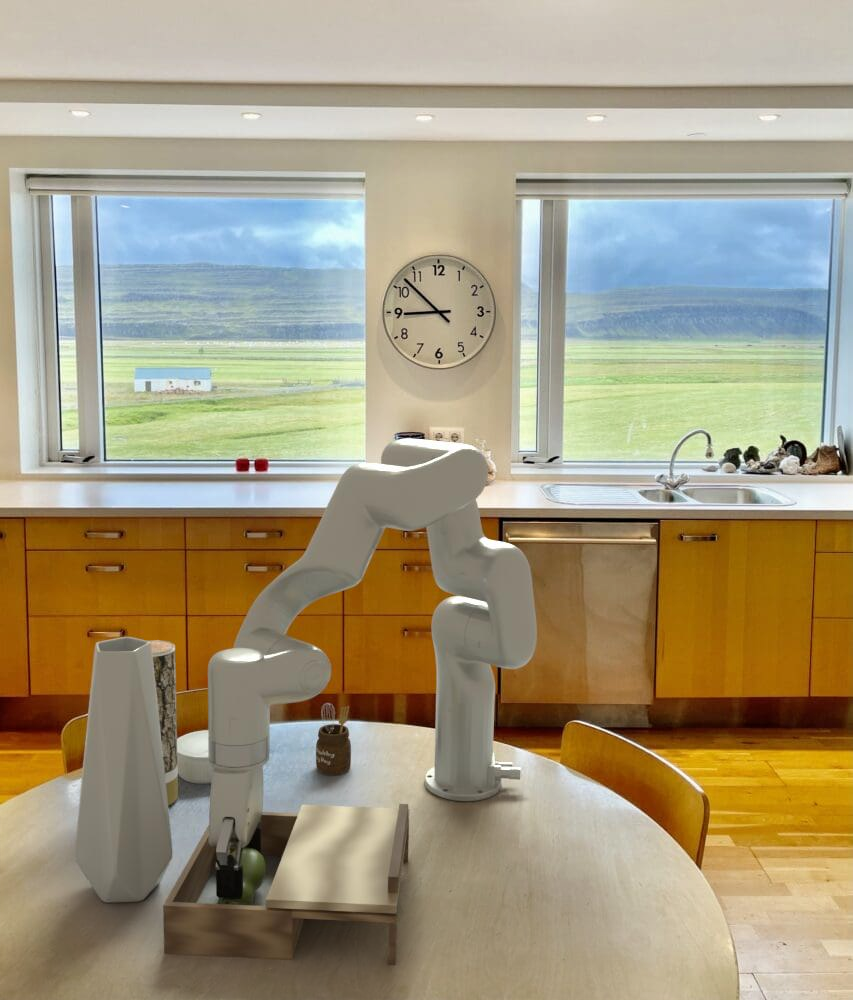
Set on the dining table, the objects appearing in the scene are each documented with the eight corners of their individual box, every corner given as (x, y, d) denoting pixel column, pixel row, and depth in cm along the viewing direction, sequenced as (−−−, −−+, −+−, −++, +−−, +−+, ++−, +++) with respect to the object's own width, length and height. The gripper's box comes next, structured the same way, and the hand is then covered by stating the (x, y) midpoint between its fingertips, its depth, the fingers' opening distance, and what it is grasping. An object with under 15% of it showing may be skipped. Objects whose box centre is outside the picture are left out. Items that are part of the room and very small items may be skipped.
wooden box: (408, 858, 128) (409, 818, 127) (395, 964, 106) (396, 916, 105) (217, 850, 130) (217, 810, 129) (164, 953, 107) (163, 905, 106)
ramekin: (232, 788, 148) (232, 757, 148) (164, 786, 149) (163, 755, 148) (247, 759, 160) (246, 730, 159) (183, 757, 160) (182, 728, 159)
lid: (409, 815, 127) (409, 795, 127) (396, 913, 105) (396, 889, 104) (302, 811, 128) (302, 791, 128) (266, 907, 105) (265, 883, 105)
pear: (269, 840, 121) (251, 898, 111) (271, 872, 122) (253, 931, 113) (227, 837, 121) (205, 895, 112) (230, 869, 123) (208, 929, 113)
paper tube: (165, 814, 139) (161, 655, 136) (124, 808, 141) (119, 651, 137) (185, 793, 146) (182, 642, 142) (146, 789, 147) (142, 638, 144)
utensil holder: (336, 758, 160) (337, 692, 159) (359, 770, 156) (359, 702, 154) (308, 767, 156) (308, 700, 155) (331, 780, 152) (331, 711, 150)
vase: (74, 873, 123) (65, 636, 118) (163, 857, 127) (158, 627, 123) (78, 925, 112) (68, 664, 107) (176, 904, 116) (170, 654, 111)
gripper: (227, 720, 124) (228, 839, 126) (188, 777, 107) (190, 913, 109) (282, 723, 123) (282, 842, 126) (252, 779, 106) (252, 916, 109)
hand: (239, 875), depth 117 cm, fingers closed on pear, 9 cm apart
